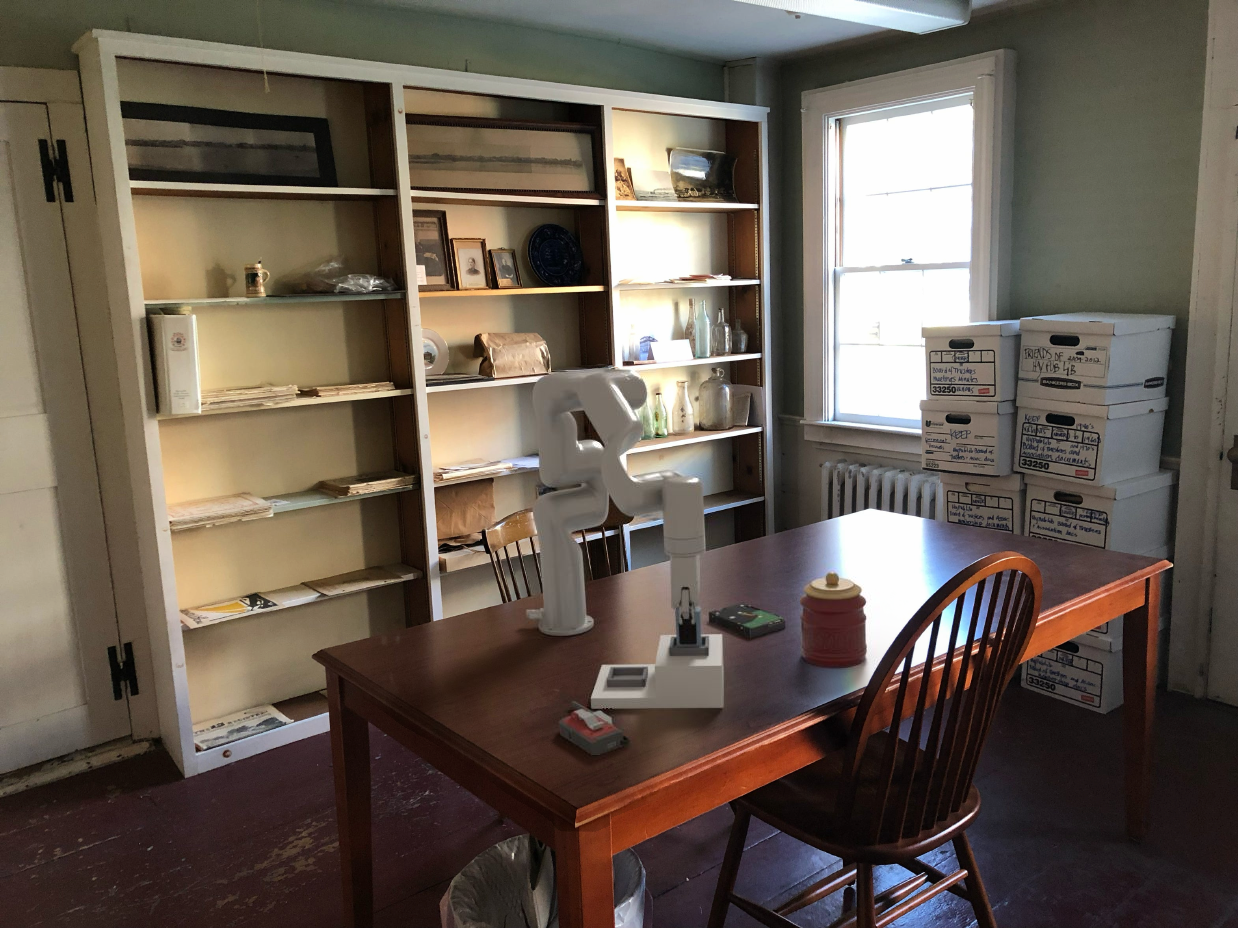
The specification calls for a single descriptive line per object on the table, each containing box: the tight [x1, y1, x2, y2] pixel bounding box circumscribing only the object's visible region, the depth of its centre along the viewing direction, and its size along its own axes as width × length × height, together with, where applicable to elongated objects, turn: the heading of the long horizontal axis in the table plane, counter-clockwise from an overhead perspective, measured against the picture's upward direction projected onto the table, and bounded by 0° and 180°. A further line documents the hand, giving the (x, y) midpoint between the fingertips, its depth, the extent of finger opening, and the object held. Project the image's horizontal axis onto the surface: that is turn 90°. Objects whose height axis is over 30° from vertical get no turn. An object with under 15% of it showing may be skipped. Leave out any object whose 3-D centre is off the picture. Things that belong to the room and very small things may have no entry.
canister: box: [799, 571, 868, 668], centre depth 193 cm, size 13×13×18 cm
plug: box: [674, 605, 703, 647], centre depth 180 cm, size 4×4×8 cm
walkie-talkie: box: [558, 700, 630, 756], centre depth 167 cm, size 9×4×20 cm
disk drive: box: [708, 602, 786, 639], centre depth 216 cm, size 10×3×15 cm
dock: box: [590, 633, 725, 710], centre depth 182 cm, size 24×16×10 cm, turn 84°
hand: (689, 635), depth 180 cm, fingers open, 6 cm apart
